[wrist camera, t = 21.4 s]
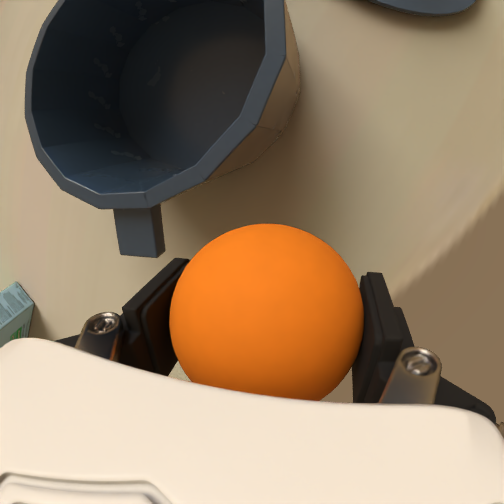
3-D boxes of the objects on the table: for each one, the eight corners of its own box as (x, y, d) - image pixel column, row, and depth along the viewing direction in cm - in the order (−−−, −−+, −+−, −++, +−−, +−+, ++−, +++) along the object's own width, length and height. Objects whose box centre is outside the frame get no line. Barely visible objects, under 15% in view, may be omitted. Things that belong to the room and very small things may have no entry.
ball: (366, 210, 11) (401, 290, 5) (347, 344, 13) (341, 462, 7) (207, 201, 12) (106, 260, 6) (217, 328, 15) (157, 425, 9)
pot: (293, -36, 14) (273, -115, 5) (300, 215, 21) (286, 275, 12) (121, -1, 17) (46, -33, 8) (123, 211, 24) (41, 252, 15)
